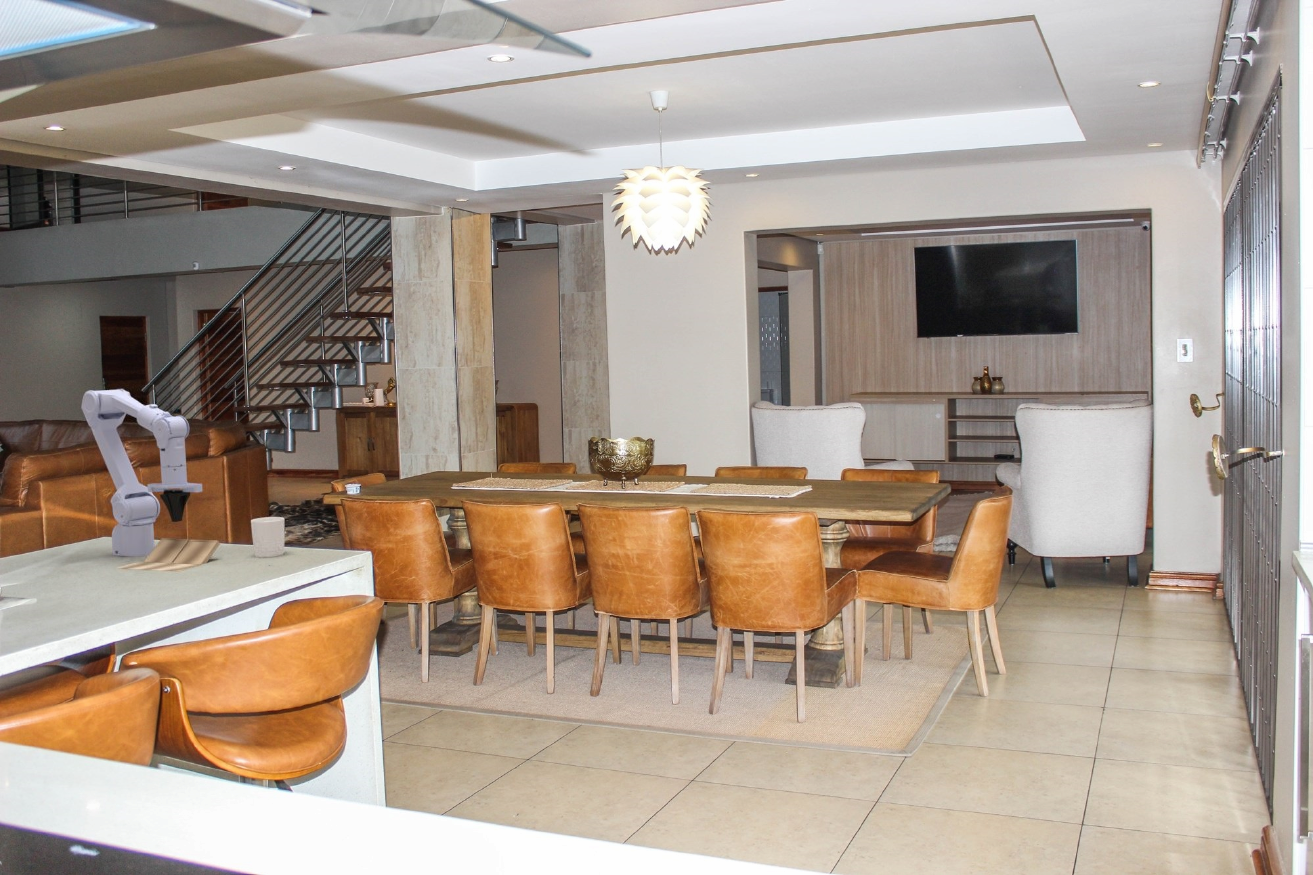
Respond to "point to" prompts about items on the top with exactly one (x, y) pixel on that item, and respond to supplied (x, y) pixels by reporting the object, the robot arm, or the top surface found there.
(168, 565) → the floor board
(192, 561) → the plank
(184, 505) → the robot arm
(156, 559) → the plank
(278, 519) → the white cup
